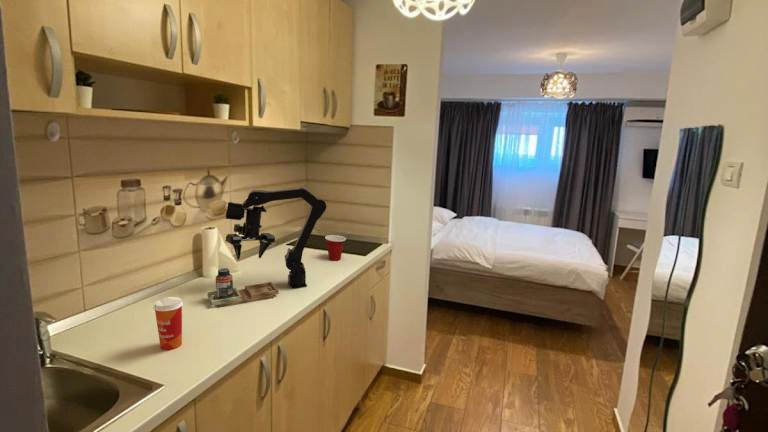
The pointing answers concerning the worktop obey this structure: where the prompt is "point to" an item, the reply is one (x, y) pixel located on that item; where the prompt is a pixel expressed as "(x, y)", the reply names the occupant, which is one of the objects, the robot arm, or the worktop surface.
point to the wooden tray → (245, 295)
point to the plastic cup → (335, 246)
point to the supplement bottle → (224, 284)
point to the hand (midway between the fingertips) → (249, 258)
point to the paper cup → (169, 322)
